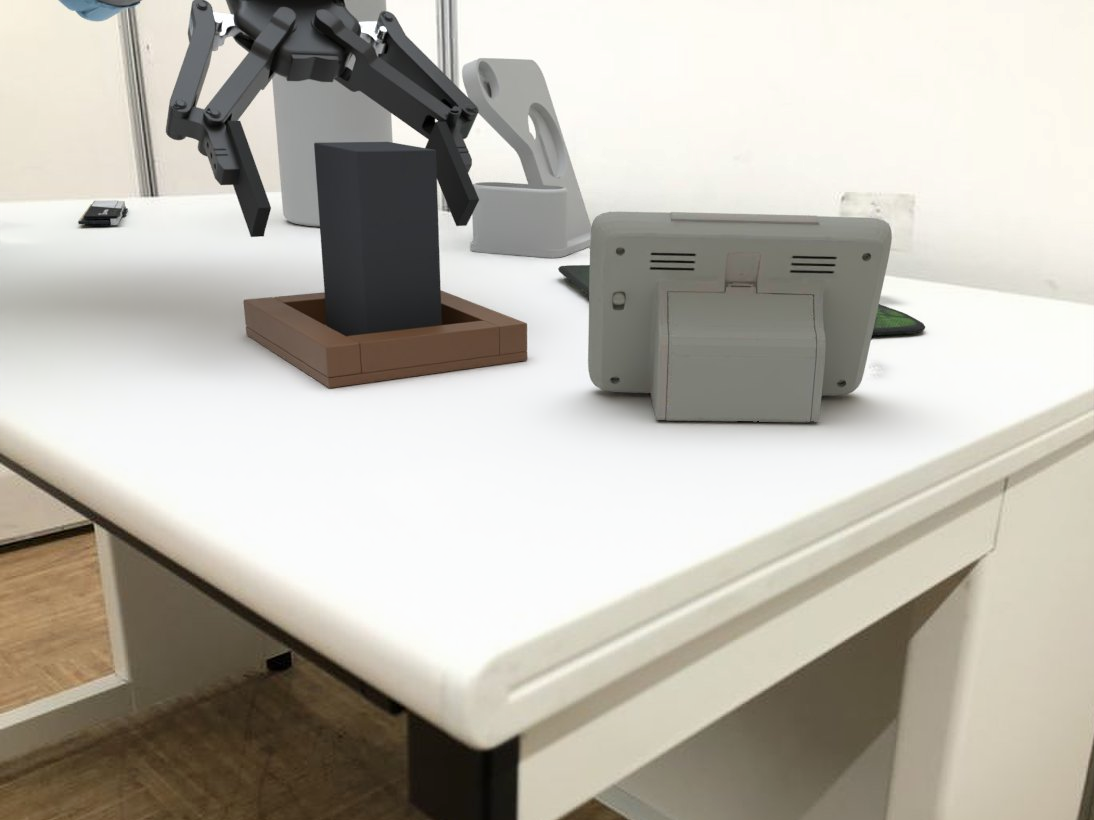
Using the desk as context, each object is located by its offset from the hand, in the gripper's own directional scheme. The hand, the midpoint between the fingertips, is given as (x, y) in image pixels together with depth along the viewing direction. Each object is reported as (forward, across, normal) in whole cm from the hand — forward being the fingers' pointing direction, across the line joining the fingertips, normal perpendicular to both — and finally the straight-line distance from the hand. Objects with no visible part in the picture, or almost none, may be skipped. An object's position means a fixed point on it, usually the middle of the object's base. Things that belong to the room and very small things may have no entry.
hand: (370, 218), depth 69 cm
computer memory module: (-43, +3, -55) cm, 70 cm away
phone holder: (-18, -33, -30) cm, 48 cm away
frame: (+6, 0, -6) cm, 8 cm away
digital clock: (+21, -12, +9) cm, 26 cm away
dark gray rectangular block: (+6, 0, -5) cm, 8 cm away
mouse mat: (+5, -30, -6) cm, 31 cm away
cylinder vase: (-35, -20, -47) cm, 62 cm away
